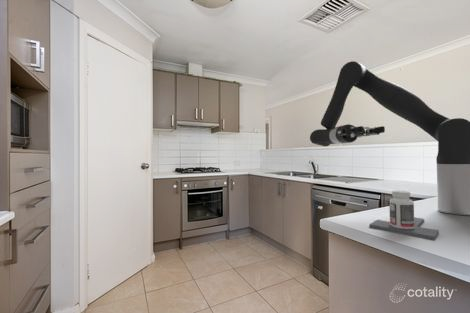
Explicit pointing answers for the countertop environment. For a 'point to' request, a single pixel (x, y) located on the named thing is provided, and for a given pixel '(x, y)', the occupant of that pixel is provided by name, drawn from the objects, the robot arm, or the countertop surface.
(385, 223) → the t mat
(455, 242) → the countertop surface
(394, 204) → the pill bottle
